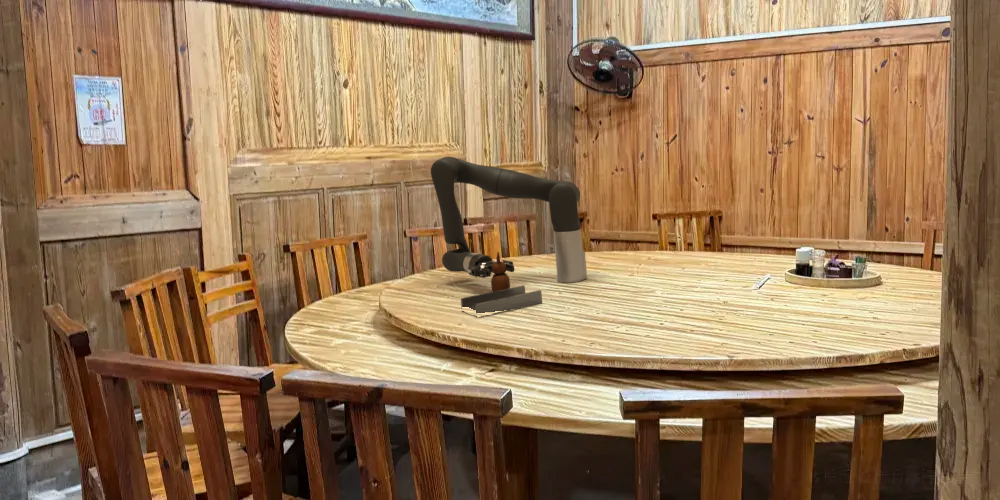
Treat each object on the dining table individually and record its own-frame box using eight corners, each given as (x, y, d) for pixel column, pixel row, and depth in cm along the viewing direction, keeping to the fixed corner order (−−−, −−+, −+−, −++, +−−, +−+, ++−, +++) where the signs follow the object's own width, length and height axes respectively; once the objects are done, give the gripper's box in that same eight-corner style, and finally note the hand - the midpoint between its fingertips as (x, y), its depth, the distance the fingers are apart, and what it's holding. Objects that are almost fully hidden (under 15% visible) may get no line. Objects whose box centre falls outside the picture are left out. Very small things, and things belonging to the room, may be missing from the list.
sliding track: (524, 297, 265) (523, 285, 264) (542, 303, 255) (541, 290, 254) (461, 311, 255) (460, 298, 254) (478, 317, 245) (477, 304, 244)
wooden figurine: (508, 298, 266) (504, 252, 263) (490, 299, 267) (486, 253, 264) (512, 293, 272) (508, 248, 270) (495, 294, 273) (490, 249, 271)
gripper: (458, 257, 277) (480, 263, 263) (495, 250, 284) (519, 255, 269) (460, 279, 278) (482, 286, 264) (498, 272, 285) (521, 278, 271)
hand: (501, 271), depth 267 cm, fingers open, 8 cm apart
